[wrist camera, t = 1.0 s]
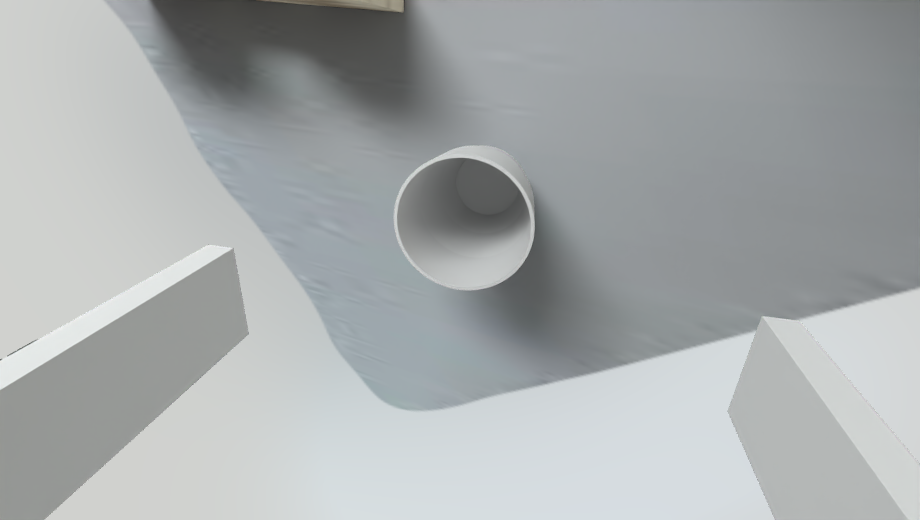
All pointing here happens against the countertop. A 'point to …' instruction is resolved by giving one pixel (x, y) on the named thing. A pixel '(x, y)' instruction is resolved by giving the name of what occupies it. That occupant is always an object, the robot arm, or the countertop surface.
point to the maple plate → (353, 4)
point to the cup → (466, 217)
